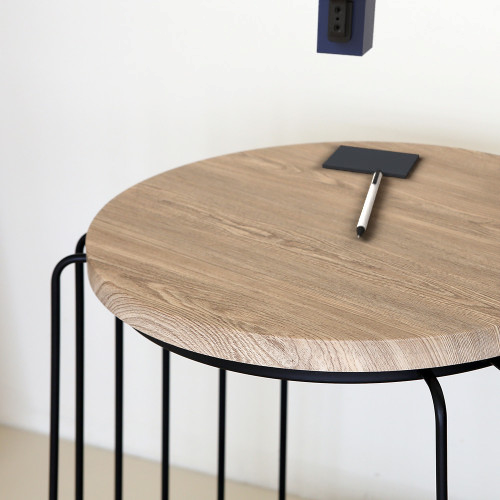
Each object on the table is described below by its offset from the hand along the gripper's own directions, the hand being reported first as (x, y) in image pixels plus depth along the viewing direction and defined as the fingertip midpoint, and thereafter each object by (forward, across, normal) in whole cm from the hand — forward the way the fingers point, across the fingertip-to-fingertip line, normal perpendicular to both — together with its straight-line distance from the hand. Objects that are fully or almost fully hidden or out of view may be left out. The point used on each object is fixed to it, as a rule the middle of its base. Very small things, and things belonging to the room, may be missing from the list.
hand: (346, 36), depth 77 cm
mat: (+17, +14, -1) cm, 22 cm away
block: (+1, 0, 0) cm, 1 cm away
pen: (+18, 0, -3) cm, 18 cm away
